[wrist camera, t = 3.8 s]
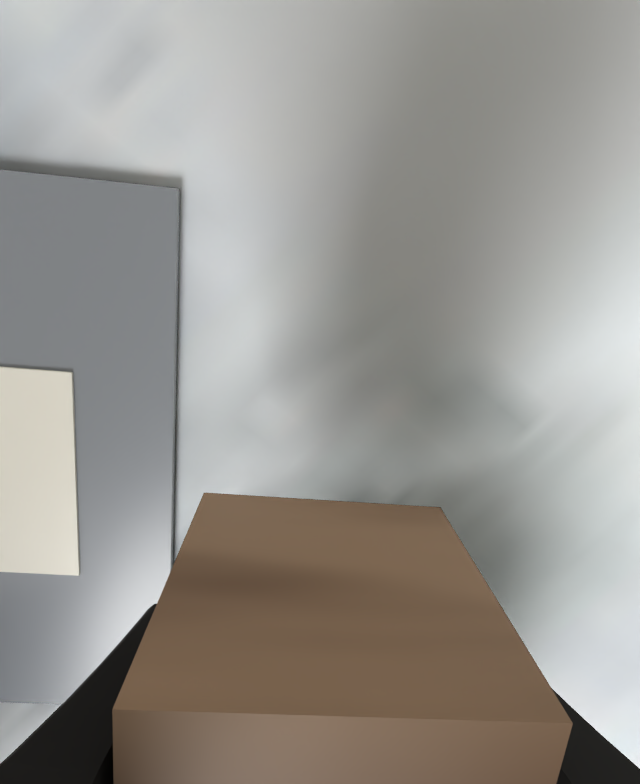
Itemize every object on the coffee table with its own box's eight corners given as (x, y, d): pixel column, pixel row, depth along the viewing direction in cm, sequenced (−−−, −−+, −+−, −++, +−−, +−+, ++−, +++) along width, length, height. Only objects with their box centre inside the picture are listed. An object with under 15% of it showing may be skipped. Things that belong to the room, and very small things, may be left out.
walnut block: (408, 697, 11) (492, 1016, 6) (196, 689, 11) (117, 1021, 6) (440, 507, 10) (573, 723, 5) (203, 492, 10) (111, 709, 5)
